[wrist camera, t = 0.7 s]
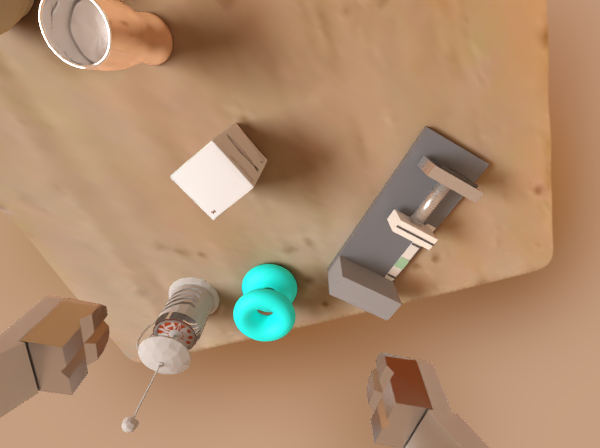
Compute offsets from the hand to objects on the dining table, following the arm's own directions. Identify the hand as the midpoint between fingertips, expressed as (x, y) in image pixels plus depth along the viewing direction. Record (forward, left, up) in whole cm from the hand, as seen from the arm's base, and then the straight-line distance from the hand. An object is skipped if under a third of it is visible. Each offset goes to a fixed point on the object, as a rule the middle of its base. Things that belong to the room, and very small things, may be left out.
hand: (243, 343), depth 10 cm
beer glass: (0, -22, -42) cm, 47 cm away
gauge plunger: (0, +22, -39) cm, 45 cm away
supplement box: (+9, -6, -42) cm, 43 cm away
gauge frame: (+6, +22, -41) cm, 47 cm away
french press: (+39, -3, -42) cm, 57 cm away
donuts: (+28, +9, -42) cm, 51 cm away
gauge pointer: (+5, +22, -39) cm, 45 cm away
